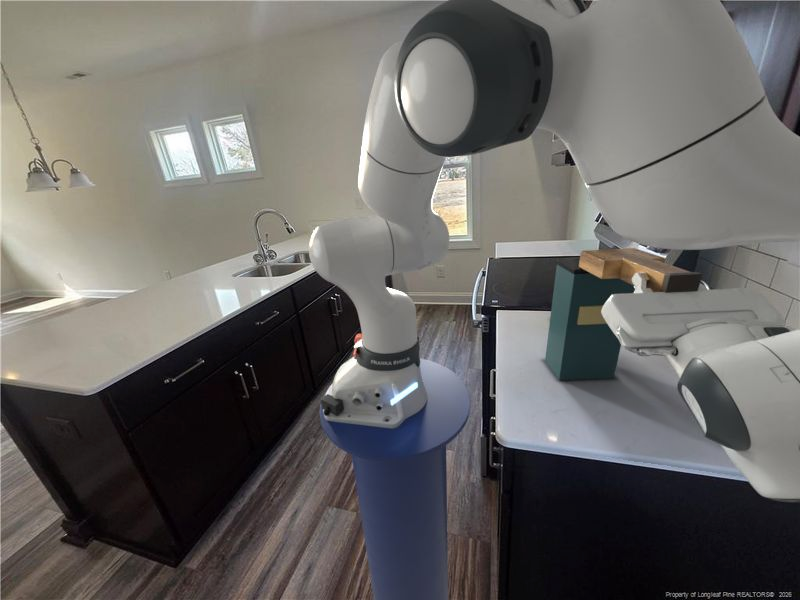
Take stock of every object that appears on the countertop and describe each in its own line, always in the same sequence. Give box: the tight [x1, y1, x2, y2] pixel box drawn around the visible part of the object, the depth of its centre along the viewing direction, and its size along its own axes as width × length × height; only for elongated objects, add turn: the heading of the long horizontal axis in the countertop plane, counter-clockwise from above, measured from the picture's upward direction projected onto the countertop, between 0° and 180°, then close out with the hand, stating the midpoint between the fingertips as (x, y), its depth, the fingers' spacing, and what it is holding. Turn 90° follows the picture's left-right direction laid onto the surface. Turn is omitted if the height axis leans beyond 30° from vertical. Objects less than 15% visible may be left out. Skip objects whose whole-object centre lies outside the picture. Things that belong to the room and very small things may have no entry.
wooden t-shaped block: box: [579, 247, 704, 293], centre depth 53 cm, size 10×18×4 cm, turn 178°
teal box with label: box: [544, 257, 635, 381], centre depth 70 cm, size 13×9×26 cm
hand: (656, 274), depth 49 cm, fingers closed on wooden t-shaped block, 4 cm apart
